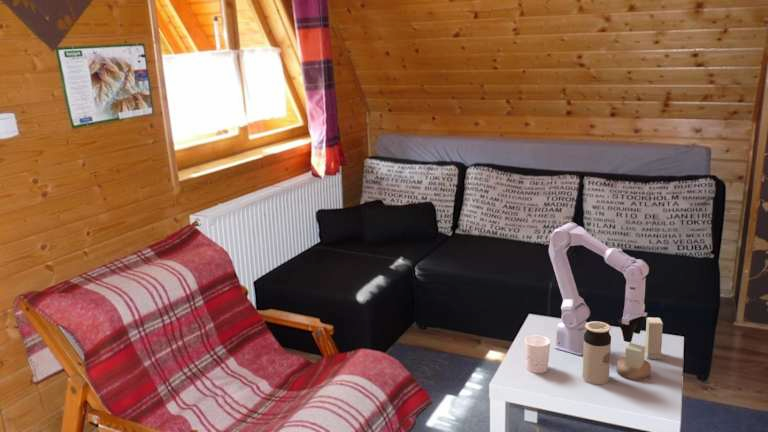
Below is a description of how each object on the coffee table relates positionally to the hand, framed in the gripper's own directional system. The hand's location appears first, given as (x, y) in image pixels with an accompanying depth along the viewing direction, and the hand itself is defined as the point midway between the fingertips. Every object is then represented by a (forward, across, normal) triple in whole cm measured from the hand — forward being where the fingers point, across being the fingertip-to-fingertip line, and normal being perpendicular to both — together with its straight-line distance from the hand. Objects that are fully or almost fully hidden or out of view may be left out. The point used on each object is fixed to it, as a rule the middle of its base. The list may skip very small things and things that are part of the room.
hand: (631, 337), depth 206 cm
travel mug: (+10, -15, +5) cm, 19 cm away
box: (+10, +10, -4) cm, 15 cm away
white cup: (+10, -20, +23) cm, 32 cm away
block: (+7, -5, -3) cm, 9 cm away
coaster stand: (+10, -5, -3) cm, 11 cm away
